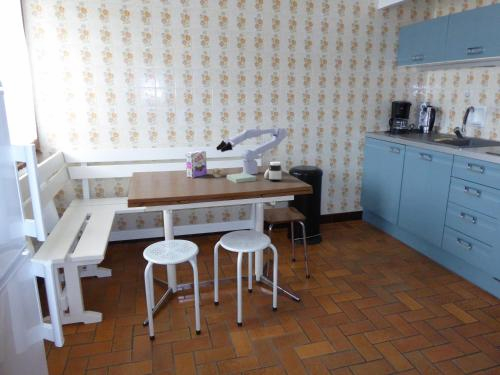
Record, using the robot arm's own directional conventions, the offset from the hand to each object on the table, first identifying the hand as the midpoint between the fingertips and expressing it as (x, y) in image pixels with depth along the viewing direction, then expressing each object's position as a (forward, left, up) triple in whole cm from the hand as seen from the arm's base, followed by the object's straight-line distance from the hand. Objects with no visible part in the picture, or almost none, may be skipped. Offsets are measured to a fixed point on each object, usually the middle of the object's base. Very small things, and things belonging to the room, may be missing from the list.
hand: (218, 149), depth 253 cm
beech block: (+1, -1, -18) cm, 18 cm away
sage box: (-8, +16, -18) cm, 26 cm away
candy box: (+13, -9, -18) cm, 24 cm away
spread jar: (-25, +27, -18) cm, 41 cm away
